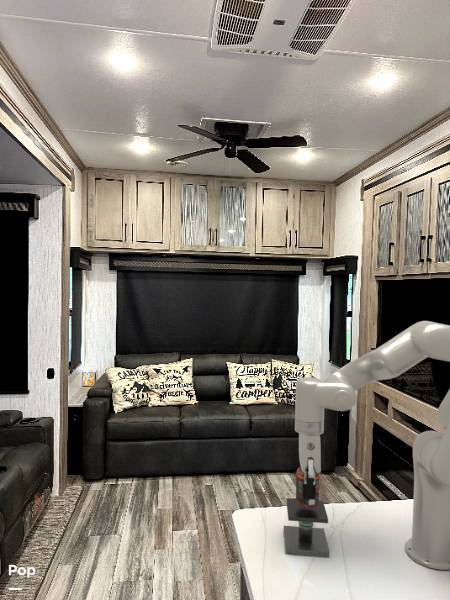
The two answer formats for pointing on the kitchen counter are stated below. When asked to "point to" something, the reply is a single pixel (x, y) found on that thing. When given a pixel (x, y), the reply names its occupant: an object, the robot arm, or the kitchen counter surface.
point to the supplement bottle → (299, 490)
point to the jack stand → (306, 530)
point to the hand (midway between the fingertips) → (307, 492)
